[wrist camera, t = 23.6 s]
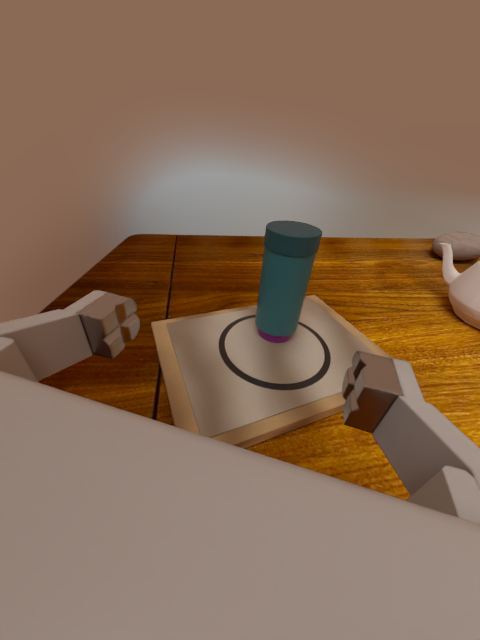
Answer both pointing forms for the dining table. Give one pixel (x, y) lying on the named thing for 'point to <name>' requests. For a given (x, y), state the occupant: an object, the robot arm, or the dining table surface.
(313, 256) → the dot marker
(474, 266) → the teapot
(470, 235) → the decorative stone
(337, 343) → the drawing board
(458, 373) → the dining table surface
